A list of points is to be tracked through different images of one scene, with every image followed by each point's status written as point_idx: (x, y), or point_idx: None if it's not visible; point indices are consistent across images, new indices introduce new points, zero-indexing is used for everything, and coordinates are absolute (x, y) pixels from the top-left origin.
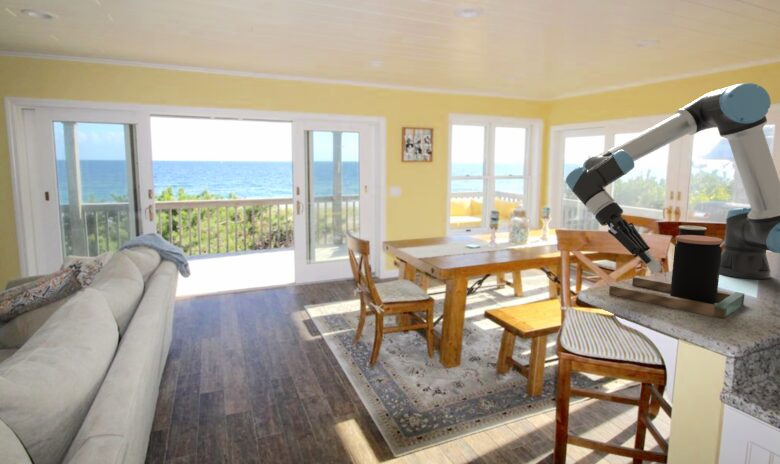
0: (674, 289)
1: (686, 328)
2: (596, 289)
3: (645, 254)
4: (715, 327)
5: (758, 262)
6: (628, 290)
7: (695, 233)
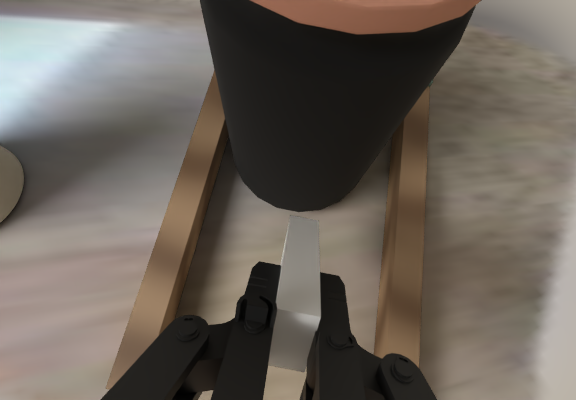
0: (352, 185)
1: (572, 150)
2: None
3: (325, 314)
4: (506, 101)
5: None
6: (418, 349)
7: None
